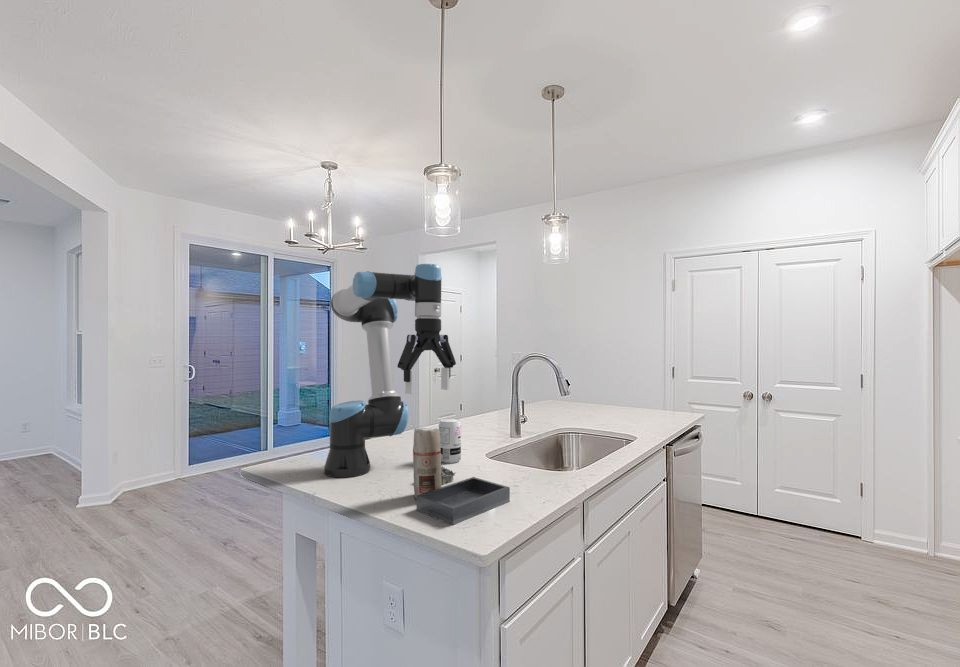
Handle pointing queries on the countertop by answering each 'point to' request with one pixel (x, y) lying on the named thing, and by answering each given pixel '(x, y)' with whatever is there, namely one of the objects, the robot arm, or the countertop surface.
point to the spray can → (426, 460)
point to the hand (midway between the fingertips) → (428, 391)
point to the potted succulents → (446, 475)
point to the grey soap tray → (462, 500)
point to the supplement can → (450, 440)
